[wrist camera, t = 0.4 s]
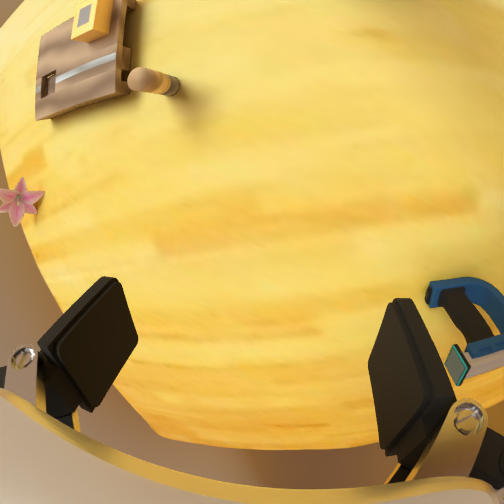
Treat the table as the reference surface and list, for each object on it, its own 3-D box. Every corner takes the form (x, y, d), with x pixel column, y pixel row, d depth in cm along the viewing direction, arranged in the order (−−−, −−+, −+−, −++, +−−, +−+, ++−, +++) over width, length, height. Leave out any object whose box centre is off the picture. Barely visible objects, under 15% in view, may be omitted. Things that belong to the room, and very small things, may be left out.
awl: (161, 78, 32) (127, 70, 24) (179, 75, 31) (149, 64, 23) (161, 97, 33) (127, 92, 25) (179, 94, 33) (148, 88, 25)
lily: (28, 218, 48) (14, 242, 41) (1, 185, 40) (-17, 205, 33) (57, 191, 48) (44, 213, 41) (29, 153, 40) (10, 170, 33)
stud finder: (92, 9, 23) (76, 3, 19) (113, -1, 22) (98, -8, 19) (87, 42, 26) (70, 39, 22) (109, 33, 25) (92, 28, 22)
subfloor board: (54, 38, 28) (41, 36, 24) (136, 0, 25) (123, -7, 22) (50, 118, 36) (35, 120, 32) (129, 93, 33) (115, 92, 30)
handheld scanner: (417, 280, 39) (463, 368, 22) (485, 271, 36) (538, 340, 19) (413, 302, 41) (451, 390, 24) (479, 291, 38) (526, 362, 21)
